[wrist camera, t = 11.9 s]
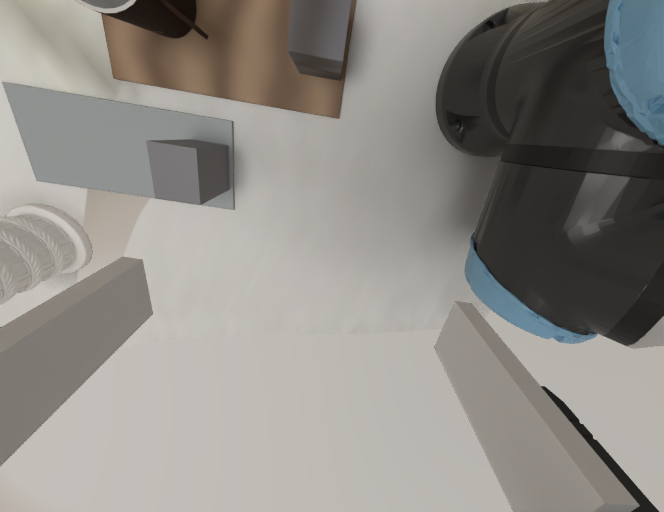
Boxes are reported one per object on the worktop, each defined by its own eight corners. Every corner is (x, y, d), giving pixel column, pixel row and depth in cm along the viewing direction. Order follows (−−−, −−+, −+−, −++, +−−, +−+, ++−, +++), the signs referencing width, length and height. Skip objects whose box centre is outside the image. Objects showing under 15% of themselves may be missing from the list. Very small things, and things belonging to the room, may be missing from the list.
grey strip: (232, 121, 33) (198, 116, 25) (234, 209, 38) (206, 230, 30) (5, 82, 31) (-116, 62, 23) (39, 180, 36) (-50, 194, 28)
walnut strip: (359, -29, 27) (372, -105, 18) (338, 118, 33) (340, 112, 24) (85, -89, 25) (-43, -205, 16) (116, 78, 31) (34, 57, 22)
